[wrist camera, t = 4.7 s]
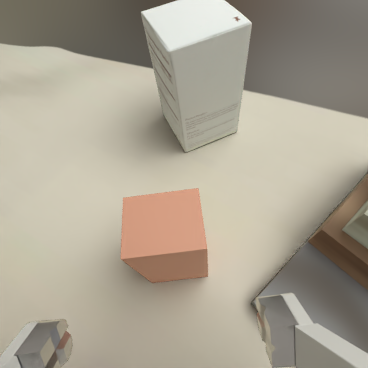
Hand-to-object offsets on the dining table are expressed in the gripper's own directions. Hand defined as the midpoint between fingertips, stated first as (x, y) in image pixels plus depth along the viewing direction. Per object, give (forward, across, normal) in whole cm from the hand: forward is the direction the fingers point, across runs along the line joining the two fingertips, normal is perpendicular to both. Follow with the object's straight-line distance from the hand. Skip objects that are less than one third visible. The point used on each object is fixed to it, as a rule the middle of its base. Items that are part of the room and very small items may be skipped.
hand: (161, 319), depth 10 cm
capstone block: (+12, 0, +4) cm, 12 cm away
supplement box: (+24, -4, -7) cm, 25 cm away
